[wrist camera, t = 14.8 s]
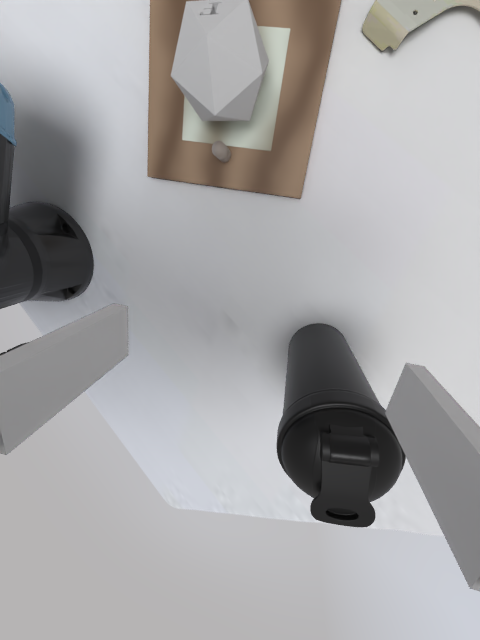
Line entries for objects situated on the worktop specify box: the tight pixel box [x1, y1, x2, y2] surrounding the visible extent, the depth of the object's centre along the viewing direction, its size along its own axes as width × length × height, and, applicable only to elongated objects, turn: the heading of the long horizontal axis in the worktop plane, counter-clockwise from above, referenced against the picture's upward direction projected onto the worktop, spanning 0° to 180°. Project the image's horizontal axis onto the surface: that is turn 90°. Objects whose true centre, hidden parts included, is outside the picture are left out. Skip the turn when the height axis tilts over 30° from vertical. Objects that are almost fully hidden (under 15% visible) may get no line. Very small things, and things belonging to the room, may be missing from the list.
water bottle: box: [277, 324, 406, 527], centre depth 30 cm, size 10×10×23 cm
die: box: [171, 0, 269, 121], centre depth 26 cm, size 8×9×10 cm
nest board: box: [148, 0, 341, 199], centre depth 30 cm, size 20×20×4 cm
